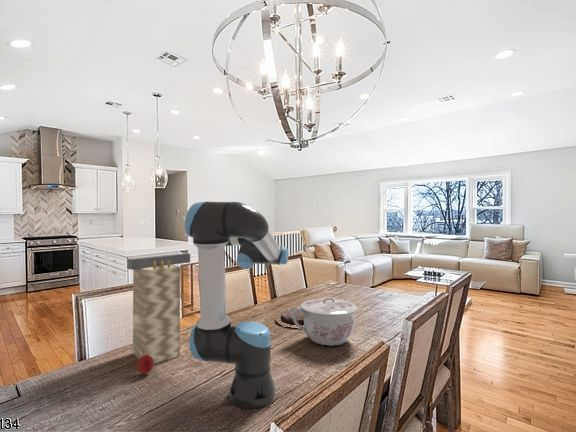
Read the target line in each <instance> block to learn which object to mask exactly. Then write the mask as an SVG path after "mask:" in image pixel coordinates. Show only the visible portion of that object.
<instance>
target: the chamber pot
mask: <svg viewBox="0 0 576 432" xmlns="http://www.w3.org/2000/svg"><path fill="white" fill-rule="evenodd" d="M301 308H302V309H301ZM358 309H359V307H358V306H357V305H356V304H355V303H353V302H350V301H346V300H344V299H338V298H332V297H326V298H323V297H321V298H313V299H309V300H306V301H303V302H302V303H301V304H300V306H299V307H298V308H296V309H295V310H294V312H293V315H292V319H293V322H294V323H295V324H296V326H297V327H299V328H300V329H299V330H302V331H303V332H304V333H305V335H306V336H307V337H309V339H310V340H311V341H312V342H313V343H316V344H319V345H322V346H325V345H327V347H334V346H335V345H336V346H340V345H344V343H346V342H347V341H348V340H349V339H350V337H351V336H352V334H353V332H354V328H355V319H356V318H355V316H354V314H355V313H356V312H357V311H358ZM298 312H302V313H303V318H304V326H305V327H303V326H301V325H299V323H298V322H297V321H296V313H298Z"/></svg>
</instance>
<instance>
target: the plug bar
mask: <svg viewBox="0 0 576 432" xmlns="http://www.w3.org/2000/svg"><path fill="white" fill-rule="evenodd" d="M168 260H170V265H180V264H188V263H191V253H187V252H183V253H172V254H161V255H151V256H144V257H143V256H142V257H133V258H127V259H126V269H127V270H134V269H142V268H149V267H153V261H156V267H157V266H161V261H163V266H165V265H168Z"/></svg>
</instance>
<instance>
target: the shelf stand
mask: <svg viewBox="0 0 576 432" xmlns="http://www.w3.org/2000/svg"><path fill="white" fill-rule="evenodd" d="M132 272H133V273H132V274H133V275H132V278H133V279H132V280H133V281H132V282H133V283H132V285H133V287H132V288H133V289H132V292H133V293H132V297H133V298H132V354H133V355H134V356H135V357H136V359H137V360H139V359H140V358H141V357H142V356H143V354H144V353H146V354H148V355H149V356H151V357H152V358H153V360H154V365H155V364H159V363H162V362H165V361H168V360H172V359H174V358H179V357H180V356H181V355H180V348H181V346H180V344H181V340H180V339H181V336H180V335H181V331H180V330H181V325H180V324H181V322H180V321H181V319H180V318H181V267H180V266H178V265H176V264H173V265H170V260H168V265H165V266H163V261H161V266H157V267H156V261H153V267H149V268H142V269H134V270H133V271H132Z"/></svg>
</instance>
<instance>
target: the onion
mask: <svg viewBox="0 0 576 432" xmlns="http://www.w3.org/2000/svg"><path fill="white" fill-rule="evenodd" d="M154 365H155V364H154V360H153V358H152V357H151V356H149V355H148V354H146V353H144V354H143V356H142V357H141V358H140V359H138V361H137V363H136V368H137V370H138V372H139V373H140V374H143V375H147V374H148V373H150V372H151V371H152V370H153V369H154Z"/></svg>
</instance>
